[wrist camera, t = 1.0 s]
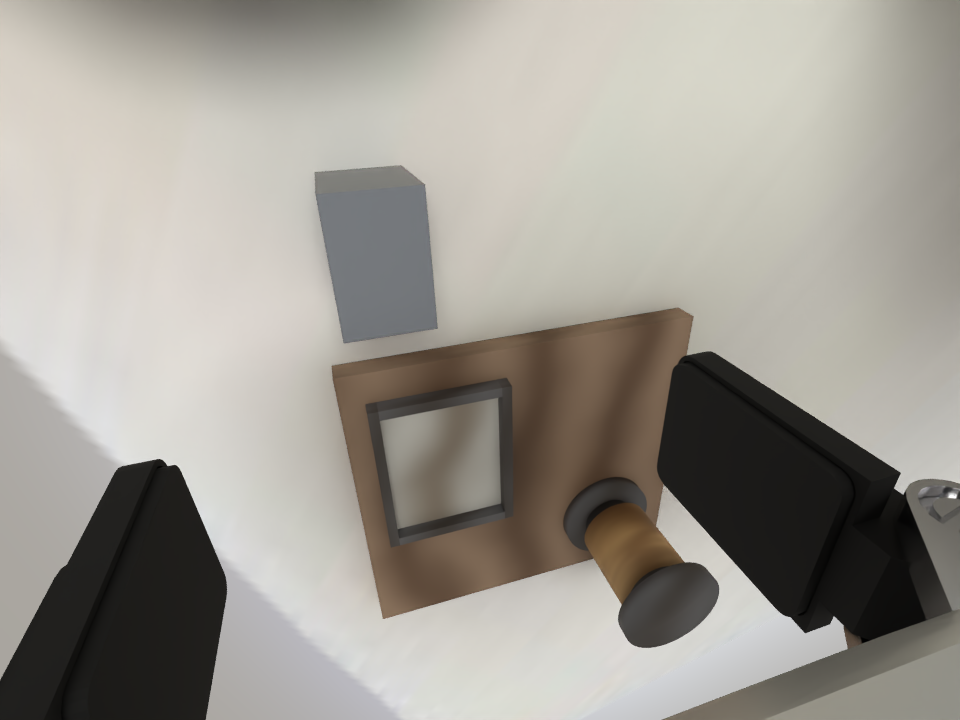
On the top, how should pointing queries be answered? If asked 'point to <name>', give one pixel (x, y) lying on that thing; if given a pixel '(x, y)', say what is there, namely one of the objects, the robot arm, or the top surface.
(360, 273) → the gray rectangular block
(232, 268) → the top surface
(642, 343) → the winding board
